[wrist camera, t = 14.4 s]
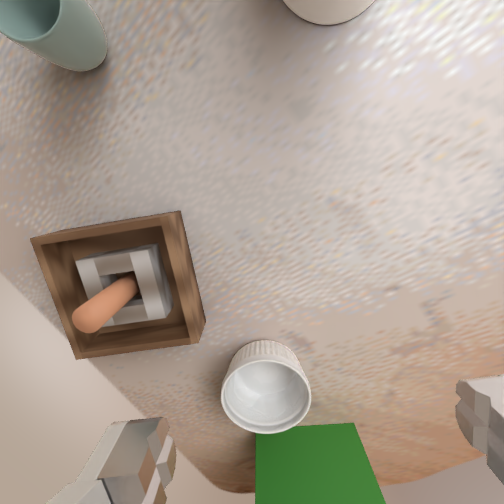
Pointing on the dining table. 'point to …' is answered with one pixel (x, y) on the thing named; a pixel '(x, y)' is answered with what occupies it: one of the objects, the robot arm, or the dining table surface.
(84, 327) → the peg
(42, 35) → the cup
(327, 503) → the hardback book
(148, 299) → the box
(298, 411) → the ramekin
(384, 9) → the dining table surface
